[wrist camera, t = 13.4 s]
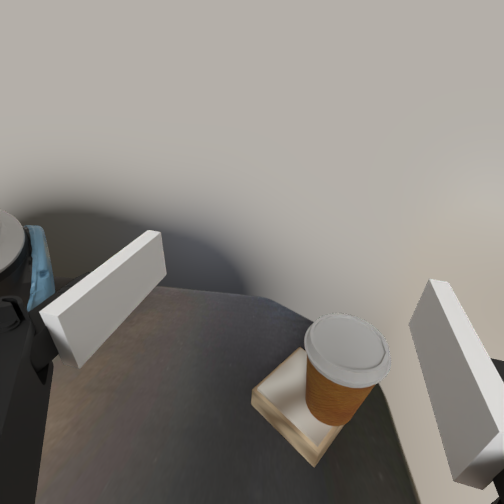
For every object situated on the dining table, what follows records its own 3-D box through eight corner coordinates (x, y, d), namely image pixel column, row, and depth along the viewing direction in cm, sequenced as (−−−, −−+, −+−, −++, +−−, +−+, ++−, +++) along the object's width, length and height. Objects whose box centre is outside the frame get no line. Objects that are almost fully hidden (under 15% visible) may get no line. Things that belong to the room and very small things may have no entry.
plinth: (251, 404, 41) (252, 387, 39) (297, 360, 48) (300, 344, 46) (314, 467, 35) (319, 451, 33) (356, 407, 42) (363, 390, 40)
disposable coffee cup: (349, 459, 32) (378, 396, 26) (279, 406, 37) (290, 343, 31) (376, 397, 39) (404, 336, 33) (313, 359, 44) (328, 299, 37)
